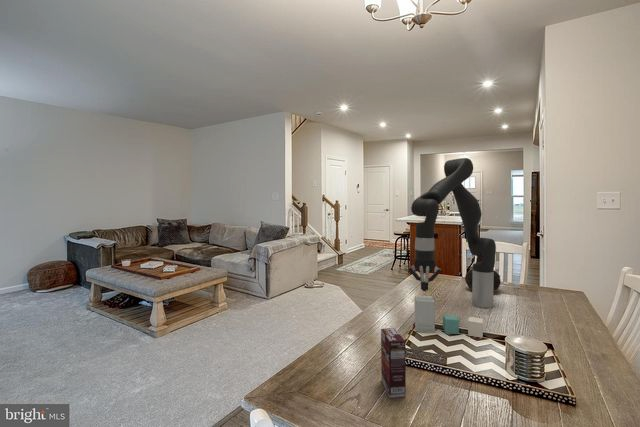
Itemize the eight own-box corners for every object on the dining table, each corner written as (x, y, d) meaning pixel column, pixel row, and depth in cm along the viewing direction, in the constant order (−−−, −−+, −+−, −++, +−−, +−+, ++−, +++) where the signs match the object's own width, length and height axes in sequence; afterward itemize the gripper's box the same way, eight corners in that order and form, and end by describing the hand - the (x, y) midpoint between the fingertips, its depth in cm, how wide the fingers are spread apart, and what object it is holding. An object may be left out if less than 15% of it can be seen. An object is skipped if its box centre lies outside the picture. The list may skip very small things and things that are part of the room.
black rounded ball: (501, 297, 172) (502, 244, 170) (464, 293, 179) (465, 243, 178) (499, 288, 188) (500, 240, 186) (465, 285, 196) (465, 238, 194)
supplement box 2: (435, 333, 129) (435, 301, 128) (415, 331, 130) (415, 300, 130) (432, 325, 136) (432, 296, 135) (414, 324, 138) (414, 295, 137)
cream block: (468, 331, 130) (469, 316, 130) (482, 333, 128) (483, 318, 128) (468, 336, 126) (468, 321, 125) (482, 338, 123) (482, 323, 123)
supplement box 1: (380, 380, 96) (380, 328, 96) (396, 379, 97) (396, 327, 96) (389, 398, 88) (388, 341, 87) (406, 397, 88) (406, 340, 87)
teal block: (442, 329, 133) (442, 314, 132) (455, 329, 132) (455, 315, 132) (445, 334, 128) (445, 319, 127) (458, 335, 127) (459, 319, 127)
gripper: (442, 247, 133) (441, 289, 134) (408, 246, 137) (408, 287, 138) (442, 250, 126) (442, 295, 127) (407, 249, 130) (406, 292, 131)
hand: (424, 290), depth 132 cm, fingers closed
